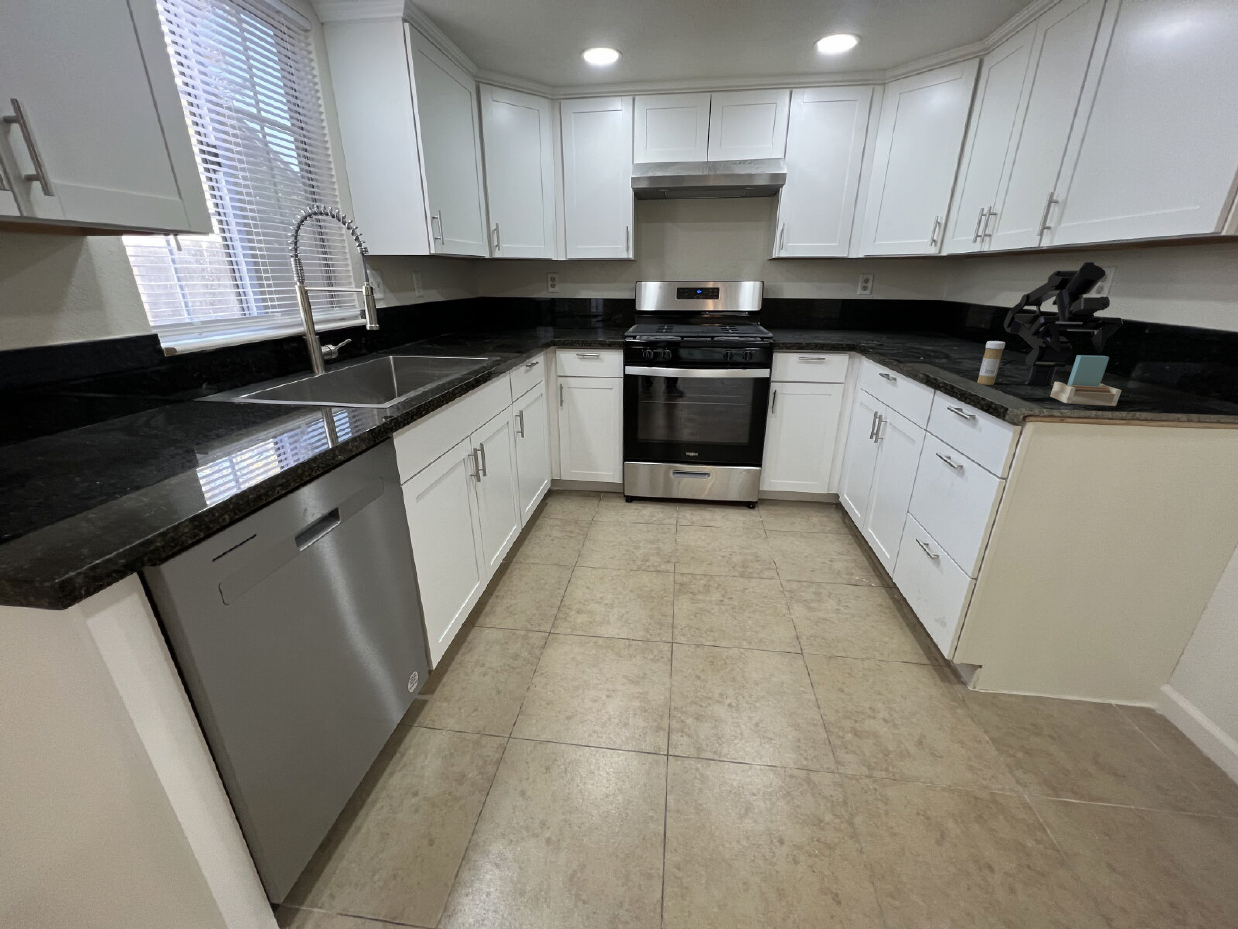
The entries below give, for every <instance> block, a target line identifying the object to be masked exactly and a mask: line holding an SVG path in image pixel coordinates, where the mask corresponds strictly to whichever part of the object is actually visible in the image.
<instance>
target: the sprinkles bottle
mask: <svg viewBox="0 0 1238 929" xmlns="http://www.w3.org/2000/svg"><path fill="white" fill-rule="evenodd" d="M1005 346H1006V342H1005V341H999V340H994V341H993V340H989V341H987V342H986V344H985V351H984V354H983V357H982V361H981V366H980V370H979V374H978V379H977V381H976V383H977V384H980V385H989V386H991V385H993V386H994V385H995V381H996V378H997V375H998V371H999V368H1000V364H1001V359H1002V356H1003V351H1004V349H1005Z"/></svg>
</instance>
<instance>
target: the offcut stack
mask: <svg viewBox="0 0 1238 929" xmlns="http://www.w3.org/2000/svg"><path fill="white" fill-rule="evenodd" d="M1069 386H1071V387H1074V388H1076V389H1075V391H1079V392H1100V393H1110V390H1108V389H1107V387H1104V386H1082V385H1069Z"/></svg>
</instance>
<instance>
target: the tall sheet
mask: <svg viewBox="0 0 1238 929" xmlns="http://www.w3.org/2000/svg"><path fill="white" fill-rule="evenodd" d="M1109 360H1110V357H1109V356H1105V355H1084V354H1083V355H1081V354H1080V355H1079V354H1078V355H1077V354H1076V357H1075V361H1074V363H1073V366H1072V369H1071V373H1070V376H1069V378H1068V381H1067V384H1066V385H1082V386H1099V385H1100V384H1102V383H1101V382H1102V381H1103V380H1102V379H1103V377H1104V374H1105V371H1106V368H1107V365H1108V362H1109Z"/></svg>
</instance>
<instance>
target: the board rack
mask: <svg viewBox="0 0 1238 929" xmlns="http://www.w3.org/2000/svg"><path fill="white" fill-rule="evenodd" d="M1053 384H1054V385H1052V390H1051V393H1050V397H1051V398H1053V399H1055V400H1058V401H1060V402H1062V403H1065V404H1070V405H1071V404H1074V405H1089V406H1090V405H1091V406H1092V405H1093V406H1094V405H1095V406H1112V407H1116V406H1117V404H1118V401H1119V398H1120V395H1121V393H1122V390H1121V389H1119V388H1116V387H1112V386H1109V385H1107V384H1104V383H1100V385H1099V386H1104V387H1107V389H1108V390H1110V393H1100V392H1079V391H1075V389H1076V388H1074V387H1071V386H1069V385H1067V384H1066V383H1064V382H1060V381H1054V383H1053Z"/></svg>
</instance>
